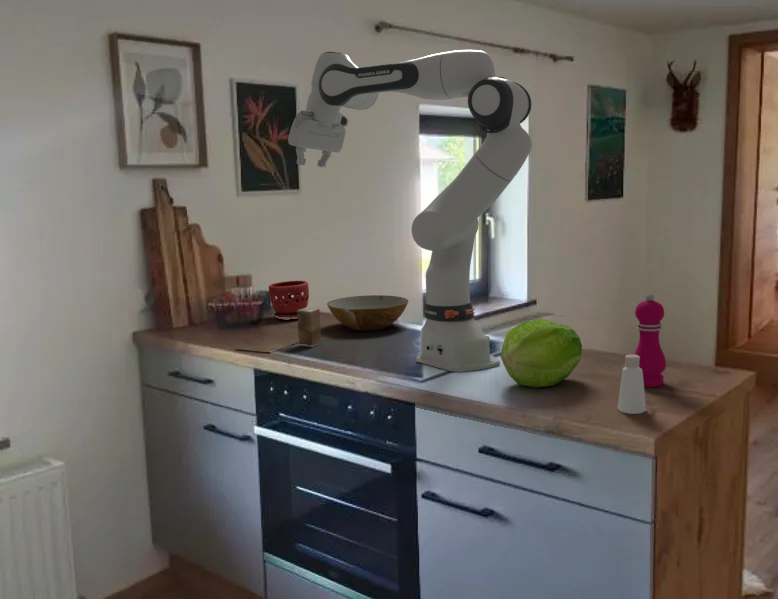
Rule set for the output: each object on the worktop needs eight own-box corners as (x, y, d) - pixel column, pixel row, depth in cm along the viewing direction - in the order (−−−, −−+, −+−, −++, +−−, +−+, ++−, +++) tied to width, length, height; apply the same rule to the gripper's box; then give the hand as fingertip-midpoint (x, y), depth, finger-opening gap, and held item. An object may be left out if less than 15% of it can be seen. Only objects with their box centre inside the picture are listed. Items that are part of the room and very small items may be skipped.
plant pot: (299, 313, 279) (297, 278, 277) (317, 318, 268) (315, 282, 266) (264, 318, 273) (262, 282, 271) (280, 323, 262) (278, 287, 260)
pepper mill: (627, 379, 182) (628, 291, 179) (660, 378, 182) (661, 290, 178) (636, 388, 175) (637, 296, 171) (670, 387, 175) (672, 295, 171)
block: (321, 344, 229) (319, 308, 228) (312, 347, 226) (310, 311, 224) (308, 343, 232) (306, 307, 230) (299, 346, 228) (297, 310, 226)
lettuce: (545, 397, 167) (485, 394, 178) (602, 374, 182) (544, 373, 194) (536, 328, 166) (477, 329, 177) (595, 310, 181) (536, 313, 193)
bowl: (315, 334, 243) (313, 308, 242) (345, 318, 267) (344, 294, 265) (395, 337, 235) (394, 310, 234) (419, 320, 259) (418, 295, 257)
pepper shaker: (611, 408, 161) (612, 354, 159) (632, 404, 164) (633, 351, 162) (630, 415, 156) (631, 360, 155) (652, 411, 159) (653, 356, 157)
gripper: (308, 112, 204) (296, 166, 207) (352, 121, 221) (341, 170, 224) (288, 106, 207) (277, 160, 210) (333, 116, 224) (323, 165, 227)
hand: (310, 165), depth 217 cm, fingers open, 8 cm apart
